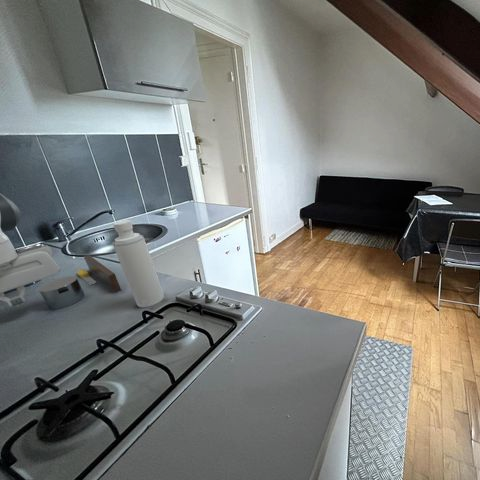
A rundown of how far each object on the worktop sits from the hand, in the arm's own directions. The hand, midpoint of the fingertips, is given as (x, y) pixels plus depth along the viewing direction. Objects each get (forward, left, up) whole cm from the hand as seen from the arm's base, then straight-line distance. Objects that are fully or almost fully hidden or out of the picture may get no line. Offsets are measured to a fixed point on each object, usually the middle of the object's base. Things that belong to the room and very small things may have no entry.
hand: (18, 303), depth 68 cm
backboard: (+19, +5, -4) cm, 20 cm away
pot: (+8, 0, -4) cm, 9 cm away
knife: (+16, +13, -4) cm, 21 cm away
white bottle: (+22, -22, -5) cm, 32 cm away
